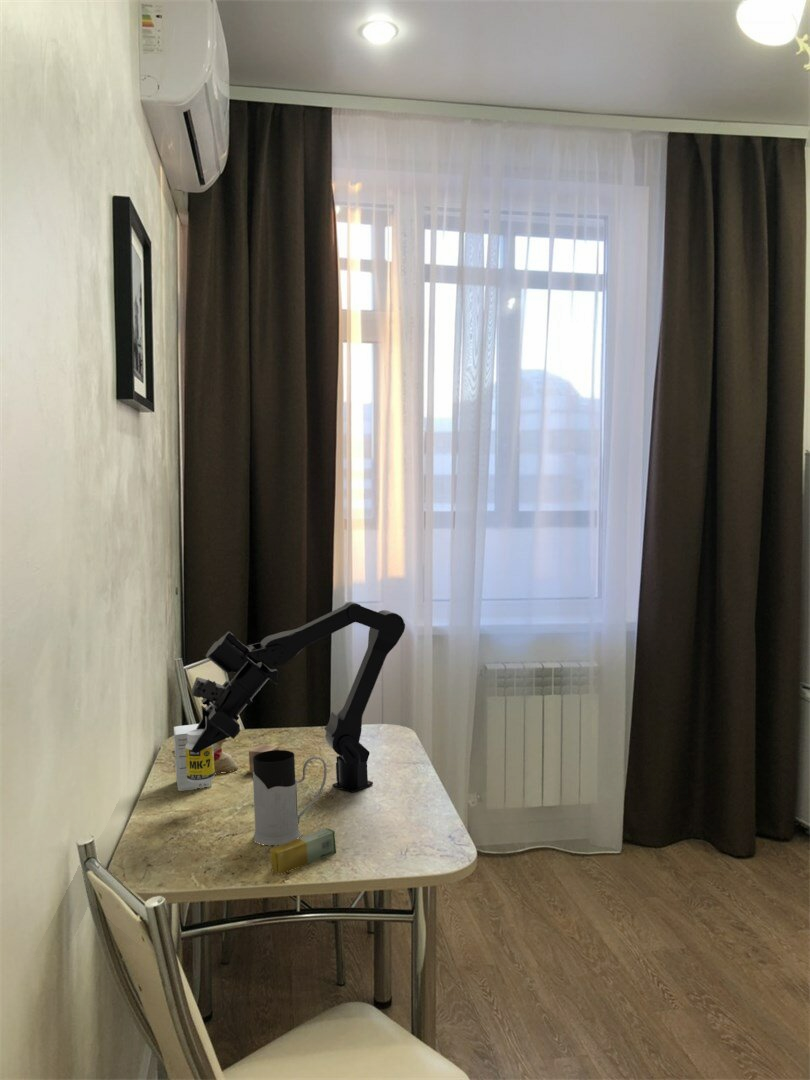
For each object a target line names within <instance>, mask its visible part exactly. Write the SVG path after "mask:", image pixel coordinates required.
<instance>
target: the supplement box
mask: <svg viewBox="0 0 810 1080" xmlns="http://www.w3.org/2000/svg"><path fill="white" fill-rule="evenodd" d="M198 725H199V723H193V724H187V725H186V724H184V725H177V726H173V742H174V743H173V745H174V761H175V763H174V764H175V778H176V780H175V781H176V784H177V791H178V792H182V791H184V792H185V791H191V790H198V789H197V788H200V789H204V788H203V787H207V788H209V787H208V786H211V787H212V780H210V781H207V782H202V783H192V782H189V781H188V780H187V768H186V750H185V746H186V744H187V743H188V741H187V733H188V732H189V731H192V730H196V728H197V727H198Z"/></svg>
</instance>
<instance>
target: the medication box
mask: <svg viewBox="0 0 810 1080" xmlns="http://www.w3.org/2000/svg"><path fill="white" fill-rule="evenodd" d="M335 834H336V832H335V830H333V829H330V828H323V829H320V830H317V831H315V832H313V833H310V834H309V833H308V834H307V835H304V836H302V837H301V836H300V838H299V839H296V840H293V841H291V842H288V843H285V844H282V845H279V846H273V848H270V850H269V853H270V863H271V864H270V865H271V869H270V871H271V870H273V871H274V872H273V871H272V872H273V873H275V872H276V873H275V874H277V873H279V874H280V875H282V874H281V873H283V874H285V873H284V872H286V873H288V872H290V870H291V871H293V870H296V869H298V868H297V867H299V868H301V867H304V866H306V865H308V864H311V863H314V862H317V861H320V860H322V859H324V858H326V857H329V856H332V855H334V854H336V853H337V849H336V848H337V847H336V846H337V845H336V836H335ZM295 868H296V869H295ZM292 869H293V870H292ZM287 871H288V872H287ZM279 874H278V875H279Z"/></svg>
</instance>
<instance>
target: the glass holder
mask: <svg viewBox="0 0 810 1080" xmlns="http://www.w3.org/2000/svg"><path fill="white" fill-rule="evenodd" d="M313 760H320V761H321V762H322V763H323V768H324V770H323V779H322V783H321V786H320V788H319V791H318V792H317V794H316V795H315V796H314V798H313V799H312V800H311V801H310V803H308V804H307V805H306V807H305V808H303V809H302V810H301V812H300V813H299V811H298V788H297V784H300V783H302V782H304V781H305V780H306V779H305V778H306V769H307V766H308V764H309V762H311V761H313ZM253 765H254V771H253V772H252V781H253V782H252V783H253V786H252V787H253V802H254V803H253V804H254V806H253V808H254V810H253V811H254V827H255V831H254V835H253V838H254V840H255V841H256V842H258V843H260V844H264V845H279V846H280V845H282V844H285V843H288V842H291V841H293V840H296V839H297V838H298V837H300V838H301V836H302V831H301V829H299V828H300V827H299V824H300V820H301V817H302V816H303V815H304V814H305V813H306V812H307V811H308V809H309V808H310V807H311V806H313V804H314V803H315V802H316V801H317V800H318V799H319V797H320V796H321V794H322V792H323V790H324V787H325V784H326V781H327V775H328V774H327V769H328V768H327V763H326V762H325V760H324V759H323V758H321V757H319V756H311V757H309V758H308V759H306V761H305V762H304V764H303V768H302V776H301V777H302V778H301V779H298V780H296V768H295V767H296V766H295V765H296V763H295V753H294V752H292V751H290V750H282V749H279V750H272V751H266V752H262V753H259V754H257V755H255V756H254V757H253ZM298 813H299V814H298ZM300 835H301V836H300ZM253 838H252V839H253ZM254 840H253V841H254ZM256 842H255V843H256ZM260 844H259V845H260ZM264 845H263V846H264Z"/></svg>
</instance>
